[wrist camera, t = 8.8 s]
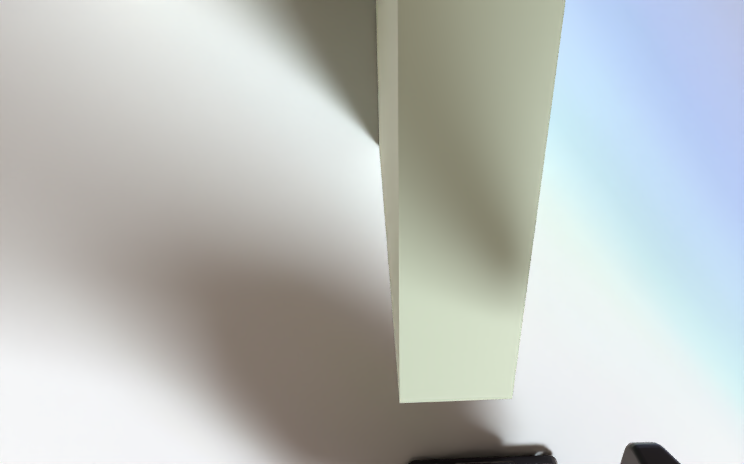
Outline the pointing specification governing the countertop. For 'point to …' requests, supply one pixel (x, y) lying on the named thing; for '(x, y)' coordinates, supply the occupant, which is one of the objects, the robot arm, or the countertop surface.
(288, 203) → the countertop surface
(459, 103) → the green block
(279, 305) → the countertop surface
